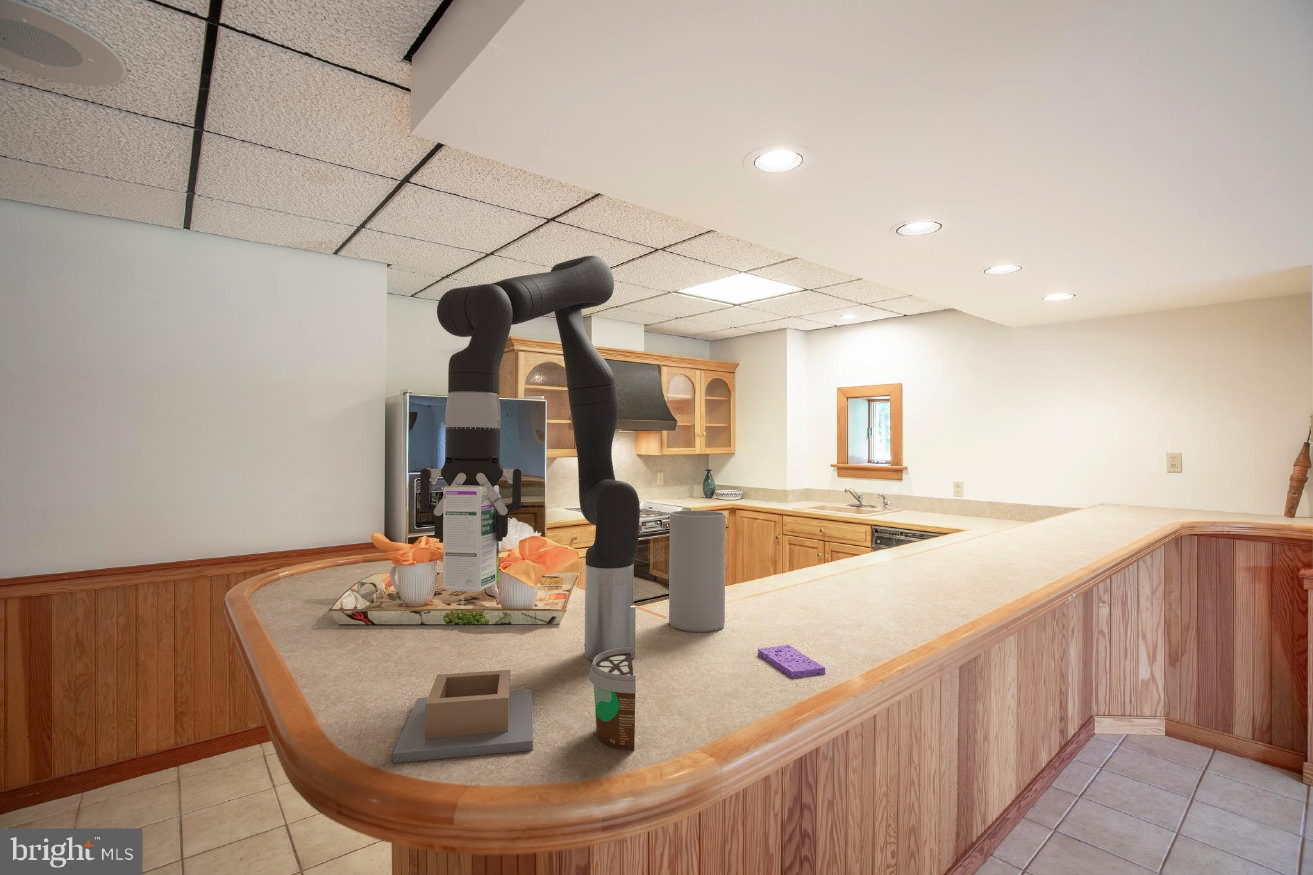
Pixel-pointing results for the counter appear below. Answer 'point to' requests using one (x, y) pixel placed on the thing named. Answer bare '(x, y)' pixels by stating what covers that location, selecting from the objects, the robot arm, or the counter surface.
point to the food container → (614, 698)
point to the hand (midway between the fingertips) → (471, 541)
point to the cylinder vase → (697, 570)
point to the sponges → (791, 661)
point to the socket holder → (467, 718)
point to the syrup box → (469, 539)
